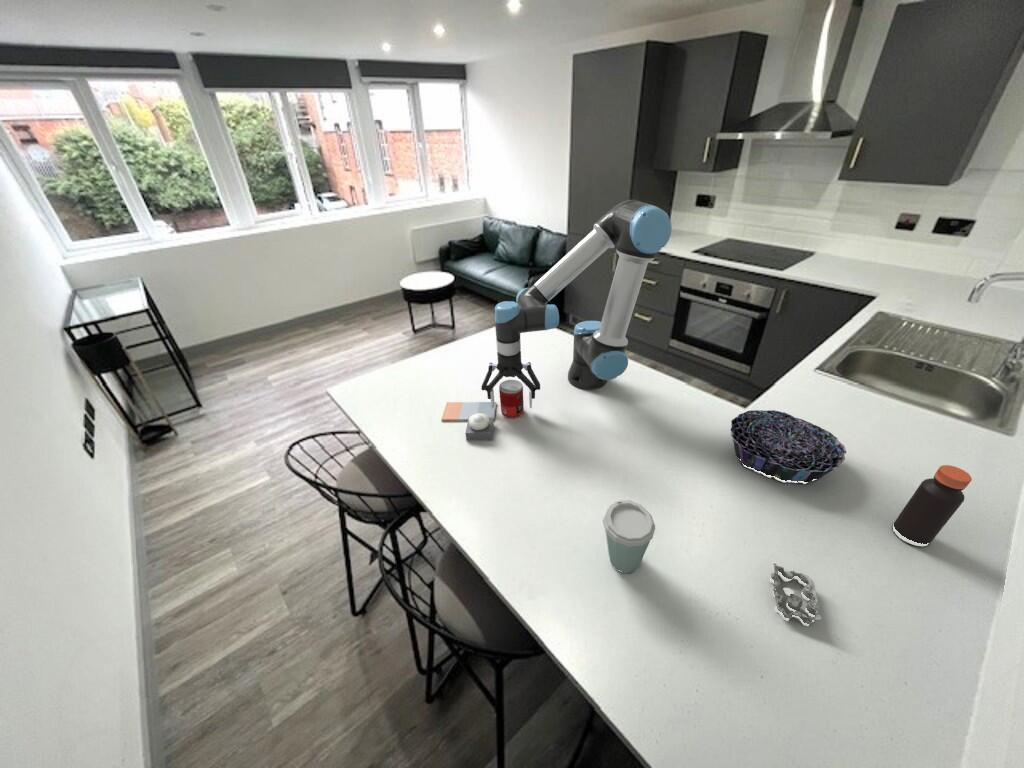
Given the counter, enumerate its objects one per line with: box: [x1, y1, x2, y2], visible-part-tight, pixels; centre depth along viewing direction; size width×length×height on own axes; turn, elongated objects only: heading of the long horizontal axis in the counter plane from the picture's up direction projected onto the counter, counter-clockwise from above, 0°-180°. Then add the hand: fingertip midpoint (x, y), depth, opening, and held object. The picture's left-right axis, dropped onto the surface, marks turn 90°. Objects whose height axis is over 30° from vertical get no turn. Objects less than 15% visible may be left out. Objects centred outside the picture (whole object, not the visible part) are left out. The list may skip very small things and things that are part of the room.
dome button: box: [469, 413, 489, 430], centre depth 133 cm, size 6×6×6 cm
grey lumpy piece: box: [770, 563, 822, 625], centre depth 84 cm, size 11×8×4 cm
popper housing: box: [465, 417, 494, 441], centre depth 134 cm, size 8×8×3 cm
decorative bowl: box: [730, 409, 847, 483], centre depth 116 cm, size 26×28×10 cm
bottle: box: [893, 464, 973, 544], centre depth 90 cm, size 7×7×20 cm
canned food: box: [498, 379, 525, 419], centre depth 140 cm, size 8×8×11 cm
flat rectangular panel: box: [440, 401, 497, 422], centre depth 144 cm, size 18×10×1 cm, turn 87°
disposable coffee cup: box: [602, 499, 656, 573], centre depth 90 cm, size 11×11×15 cm
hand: (511, 405), depth 142 cm, fingers open, 12 cm apart
